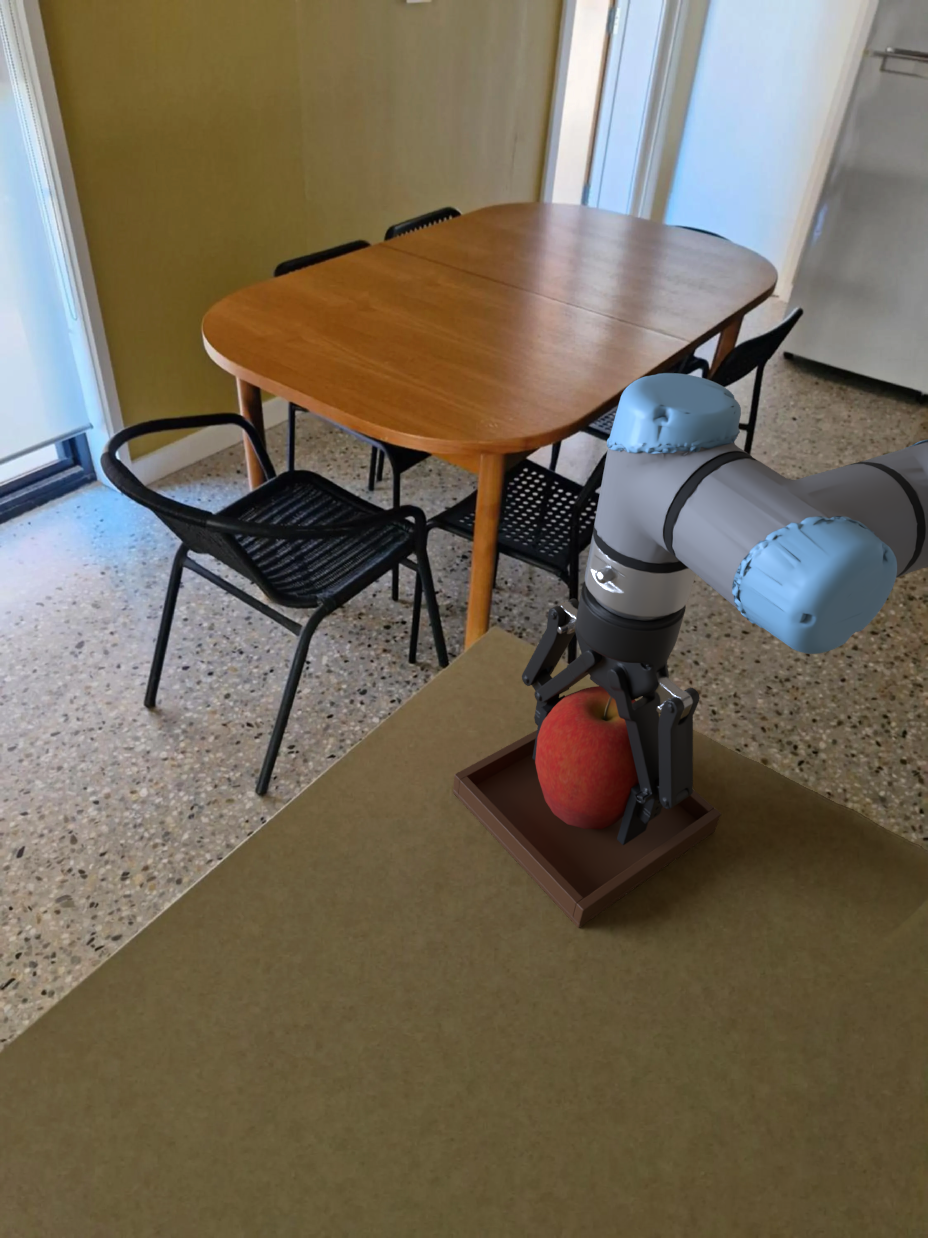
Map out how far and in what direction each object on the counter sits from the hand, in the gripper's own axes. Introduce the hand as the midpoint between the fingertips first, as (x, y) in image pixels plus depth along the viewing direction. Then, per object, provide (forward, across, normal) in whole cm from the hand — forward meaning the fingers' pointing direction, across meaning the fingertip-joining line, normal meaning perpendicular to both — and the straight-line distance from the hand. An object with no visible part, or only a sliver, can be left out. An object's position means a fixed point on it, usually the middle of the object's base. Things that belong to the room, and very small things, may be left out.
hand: (587, 793), depth 78 cm
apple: (+2, 0, 0) cm, 2 cm away
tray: (+3, 0, 0) cm, 3 cm away
